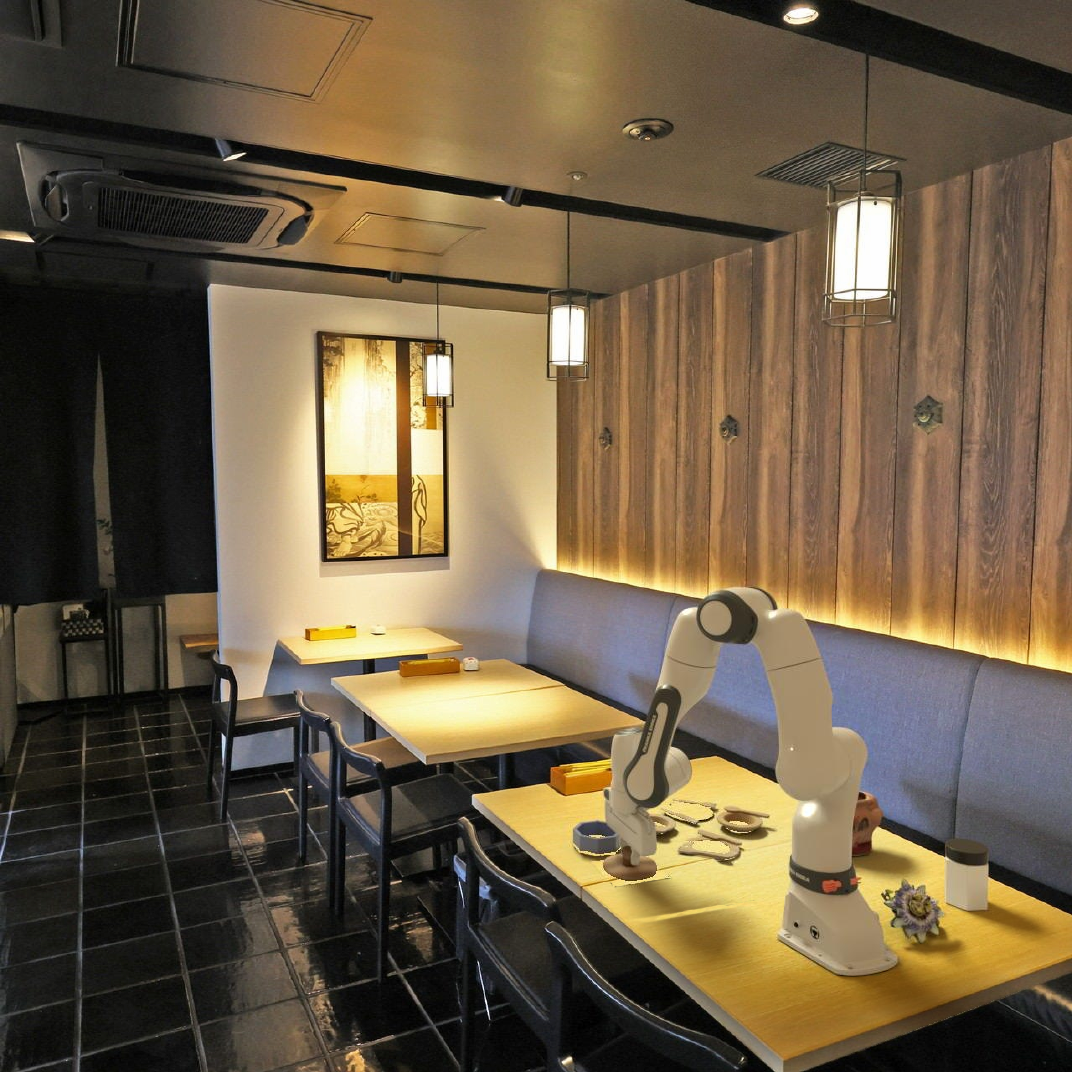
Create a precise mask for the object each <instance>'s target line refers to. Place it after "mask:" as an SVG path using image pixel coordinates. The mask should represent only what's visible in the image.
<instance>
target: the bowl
mask: <svg viewBox="0 0 1072 1072" xmlns="http://www.w3.org/2000/svg"><path fill="white" fill-rule="evenodd" d="M589 835H602V836H605V837H600V838H596V837H591V836H589ZM573 843H574V844H575V845H576V846H577V847H578V848H579V850H580V851H588V852H591V853H595V854H604V853H611V852H616V851H617V850H618V849H619V848H620V847H621V846H620V843H619V839H618V834H616V833H615V832H614V831H613V830H612V829H611V828H610V827H609V826H608V825H607V823H606V820H604V821H603V820H599V819H597V820H595V819H594V820H589V821H581V822H579V823H578V824H577V825H575V826H574V827H573V828H572V844H573Z"/></svg>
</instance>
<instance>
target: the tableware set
mask: <svg viewBox="0 0 1072 1072" xmlns="http://www.w3.org/2000/svg"><path fill="white" fill-rule="evenodd" d="M675 799H676V798H672V800H673V801H679V802H684V803H690V804H700V805H702V806H705V807H711V809H716V807H717V806H716V805H718V804H717V803H713V802H697V801H691V800H686V799H680V798H678V799H679V800H675ZM672 800H671V801H672ZM659 810H663V811H665V812H668V813H669V814H671V815H676V816H678V817H680V818H682V819H685V820H688V821H690V822H693V823H694V824H695V823H699V821H698V820H696V819H694V818H691V817H689V816H686V815H684V814H681V813H679V814H678V813H674V812H672V811H670V810H667V809H664V807H662V808H660V809H659ZM723 810H724V811H723V812H720V813H719V814H718V815H716V821H717V823H719V824H720V825H721V826H723V827H726V828H728V829H729V830H733V831H737V832H749V831H752V830H753V831H754V830H755V829H759V828H760V827H762V826H763V818H764V819H769V818H771V817H770V816H771V815H770V814H769V813H763V812H760V811H759V812H758V811H753V810H747V809H742V808H740V807H737V806H734V805H725V806H723ZM649 815H650V816H649V817H650V818H652V819H653V821H654V822H657V823H660V824H662V825H665V826H666V827H663V826H657V825H655V828H656V834H661V833H665V832H667V831H668V832H670V831H672V830H674V829H675V828H676V826H677V824H676V823H677V822H676V821H675V819H674V818H671V817H669V816H668V815H667V816H666V815H663V814H656V813H649ZM730 821H740V822H745V823H747V824H748V825H737V824H733V823H729V822H730ZM694 824H693V825H694ZM726 828H725V829H726ZM668 832H667V833H668ZM665 834H666V833H665ZM697 834H698V835H701V836H693V837H694V838H693V837H690V838H688V839H686V840H684V841H689V842H687V843H684V844H683V843H682V845H679V847H678V849H677V852H678V853H681V854H686V855H693V856H696V857H700V858H704V859H710V860H711V859H713V860H714V861H716V860H723V861H726V860H725V859H730V858H733V857H735V856H737V855H738V856H739V854H740V847H741V846H743V842H742V841H741V840H738V839H734V838H732V837H727V836H723V835H721V834H717V833H715V832H712V831H708V830H704V829H698V830H697ZM695 837H696V838H695ZM703 840H710V841H720V842H722V843H724V844H725V845H726V846H729V848H730V851H729V852H728V853H725V854H723V853H715V852H707V851H703V850H701V849H699V850H698V849H695V848H693V844H694V842H693V841H703ZM690 841H691V843H690ZM692 842H693V843H692ZM685 846H688V847H685ZM739 846H740V847H739ZM738 856H737V857H738ZM735 858H736V857H735ZM733 859H734V858H733ZM730 860H731V859H730Z"/></svg>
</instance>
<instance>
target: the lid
mask: <svg viewBox="0 0 1072 1072" xmlns="http://www.w3.org/2000/svg"><path fill="white" fill-rule="evenodd" d="M631 854H632V850H631V846H630V845H629V846H624V847H623V855H622V854H621V853H617V854H615V855H610V856H606V857H605V858H604V859H605V860H604V862H603V868H604V870H605V871H606V872H607V873H608V874H610V875H611V876H613V877H616V878H618V879H621V880H625V881H637V880H643V879H647V878H650V877H653V876H654V875H655V874H656V871H657V865H658V864H657V863H656V861H655V859H654V860H653V859H652V858H651V857H650V856H648V857H646V856H641V855H640V857H639V864H638V865H632V864H631V863H630V861H629V860H630V858H629V855H631ZM656 864H657V865H656Z"/></svg>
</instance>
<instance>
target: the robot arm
mask: <svg viewBox="0 0 1072 1072" xmlns="http://www.w3.org/2000/svg"><path fill="white" fill-rule="evenodd" d="M724 644H726V645H727V644H729V645H732V644H733V645H742V646H744V645H748V644H752V645H754V647H756V649H757V650H758V653H759V655H760V657H761V660H762V664H763V668H764V671H765V674H766V677H767V682H768V685H769V687H770V688H769V689H770V692H771V695H772V699H773V703H774V706H775V711H776V718H777V728H778V729H777V730H778V733H777V734H778V757H777V761H776V764H775V777H776V780H777V783H778V785H779V787H780V788H781V789H782V791H783V792H784V793H785V794H786V795H787V796H789V797H790V798H792V799H794V800H797V801H798V803H797V805H796V808H795V810H794V812H793V814H792V815H793V816H792V823H791V824H792V825H791V826H792V827H791V828H792V829H791V831H792V832H791V854H790V856H789V861H788V875H789V878H790V882H789V884H788V888H787V891H786V893H785V896H784V905H783V914H782V922H781V928H779V930H778V931H777V936H776V938H777V939H778V940H779V941H781V942H783V943H784V944H785V945H786V946H789V947H791V948H792V949H794V950H796V951H797V952H798V953H800V954H802V955H804V956H805V957H807V958H808V959H811V960H812V961H814V962H815V963H817V964H819V965H820V966H822V967H824V968H825V969H827V970H828V971H830V972H832V973H834V974H835V975H843V976H864V975H871V974H876V973H880V972H885V971H887V970H890V969H892V968H893V967H895V966H896V965H897V964H898V963H899V957H898V955H897V954H896V953H895V952H894V951H893V949H891V948H890V946H888V945H887V944H886V943H885V940H884V930H883V926H882V923H881V922H880V915H879V913H878V911H876V910H872V909H871V907H870V905H869V904H868V902H867V900H866V899H865V897H864V896H863V894H862V893H861V892H860V889H859V884H862V882H861V881H860V880H862V877H857V872H856V869H855V866H854V863H853V862H852V861H853V860H852V857H853V856H852V829H853V820H854V814H855V809H856V804H857V799H858V794H859V791H860V788H861V782H862V781H861V780H862V777H863V773H864V769H865V766H866V763H867V761H868V747H867V744H866V743H865V741H864V740H863V738H862V737H861V736H860V735H859V733H857V732H855V731H854V730H853V729H850V728H848V727H841V726H833V720H832V706H833V701H834V694H833V691H832V688H831V685H830V681H829V678H828V675H827V672H826V668H825V666H824V665H825V664H824V662H823V658H822V655H821V653H820V652H821V651H820V650H819V647H818V644H817V642H816V639H815V637H814V634H813V633H812V631H811V628H810V626H809V625H808V623H807V621H806V619H805V617H804V616H803V615H802V614H801V613H800V612H799V611H797V610H796V609H792V608H779V607H778V605H777V602H776V600H775V598H774V597H773V595H771V593H770V592H768V591H767V590H765V589H763V588H759V587H755V586H747V587H742V586H741V587H740V586H733V587H728V588H725V589H719V590H718V589H717V590H715V591H712V592H710V593H708V594H707V595H706V596H705V597H704V598H703V599H701V601H700V602H699V605H698V606H697V607H696V606H694V607H688V608H685V609H682V610H681V612H680V613H679V614H678V615H677V617H676V620H675V622H674V624H673V626H672V629H671V632H670V635H669V638H668V641H667V644H666V649H665V653H664V658H663V662H662V666H661V670H660V675H659V679H658V681H657V682H658V683H657V684H656V688H655V692H654V695H653V697H652V701H651V704H650V706H649V709H648V713H647V715H646V719H645V723H644V726H643V727H640V726H635V727H634V726H632V727H628V728H623V729H620V730H619V731H617V732H616V733H615V734H614V735H613V738H612V744H611V749H610V750H611V752H610V753H611V754H610V770H611V772H612V779H611V782H610V786H607V787H604V788H602V789H603V790H602V795H603V798H604V818H605V820H604V821H605V822H606V823H607V825H608V826H609V827H610V828H611V829H612V830H613V831H614V832H615V833H616V834H618V839H619V843H620V846H621V850H620V854H622V855H623V847H624V846H631V850H632V854H631V855H629V858H630V860H629V861H630V863H631V864H632V865H638V864H639V857H640V855H641V856H648V857H650V856H654V855H656V853H657V850H658V848H657V847H658V846H657V835H656V828H655V823H654V821H653V819H652V818H650V817H649V816H650V815H649V814H650V813H649V812H648V811H649V810H650V809H654V808H657V807H659V806H660V805H661V804H662V803H663V802H665V801H666V800H667V799H669V797H671V796H672V795H674V794H676V793H677V792H678V791H679V790H681V789H683V788H684V787H685V786H687V784H689V782H690V781H691V779H692V775H693V773H692V772H693V769H692V764H691V760H690V759H689V757H688V756H687V754H686V753H685V752H684V751H683V750H681V749H680V748H677V747H675V746H674V747H673V746H672V743H673V740H674V736H675V732H676V729H677V727H678V725H679V723H680V722H681V720H682V719H683V717H684V716H685V715H686V714H687V713H688V711H689V710H690V709H692V707H694V706H695V704H697V703H698V702H699V701H700V700H701V699H702V698H704V697H705V696H706V695H707V693H708V691H709V689H710V687H711V685H712V682H713V680H714V677H715V673H716V670H717V669H716V668H717V664H718V659H719V655H720V651H721V648H722V646H723V645H724Z"/></svg>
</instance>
